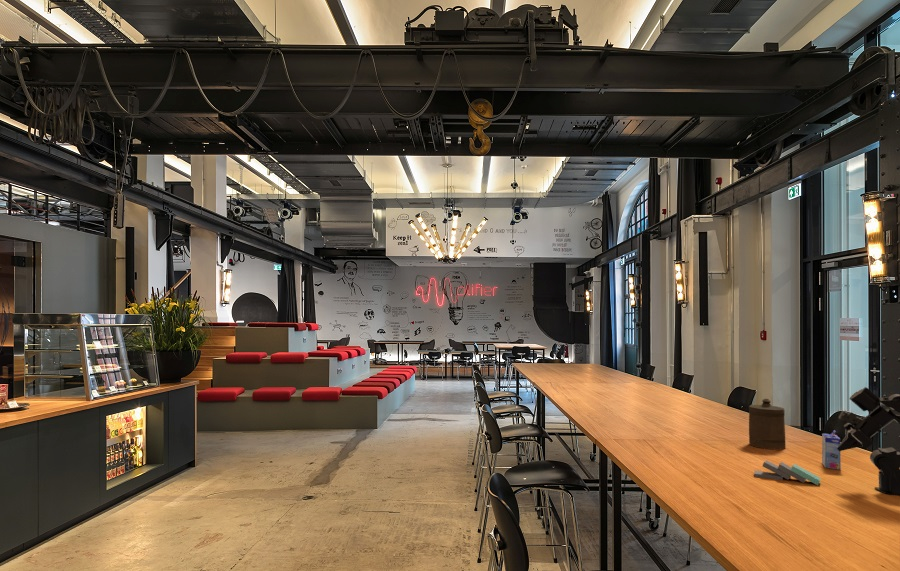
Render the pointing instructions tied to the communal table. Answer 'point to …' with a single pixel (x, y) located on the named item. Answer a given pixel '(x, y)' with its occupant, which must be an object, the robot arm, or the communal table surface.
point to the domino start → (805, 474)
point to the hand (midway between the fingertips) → (838, 449)
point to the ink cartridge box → (831, 451)
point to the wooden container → (767, 426)
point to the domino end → (767, 475)
